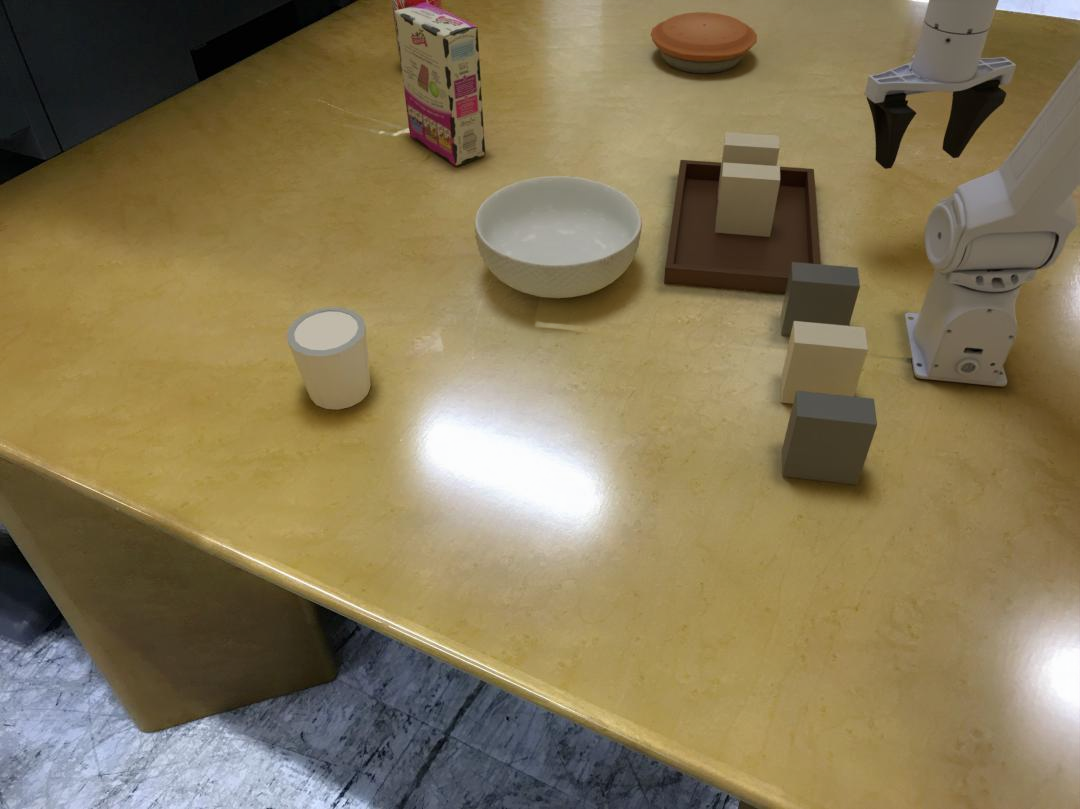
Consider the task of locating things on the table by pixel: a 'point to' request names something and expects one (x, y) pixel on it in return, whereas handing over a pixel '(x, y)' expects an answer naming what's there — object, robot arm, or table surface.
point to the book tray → (733, 256)
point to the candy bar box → (442, 81)
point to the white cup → (331, 356)
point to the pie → (703, 41)
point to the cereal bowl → (558, 235)
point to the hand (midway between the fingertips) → (917, 158)
